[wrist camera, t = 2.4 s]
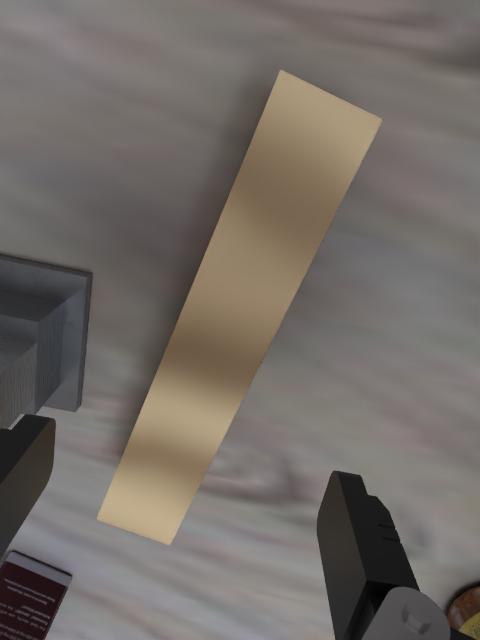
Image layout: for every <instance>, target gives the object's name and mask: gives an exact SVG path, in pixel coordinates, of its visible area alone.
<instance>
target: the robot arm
mask: <svg viewBox="0 0 480 640" xmlns="http://www.w3.org/2000/svg"><path fill="white" fill-rule="evenodd" d="M55 429H56V422H55V419H54V418H48V417H43V416H37V415H32V414H26V415H24V416H23V417H22V419H21V420H20V421H19V422H18V423H17V424H16V425H15V426H14V428H13V429H12V430H9V429H3V428H1V429H0V559H1V557H2V555H3V554H4V552H5V551H6V549H7V547H8V546H9V544H10V543H11V541H12V539H13V538H14V536H15V535H16V533H17V532H18V530H19V528H20V527H21V525H22V524H23V522H24V520H25V519H26V517H27V516H28V514H29V512H30V511H31V509H32V508H33V506H34V504H35V503H36V501H37V500H38V498H39V496H40V495H41V493H42V492H43V490H44V488H45V487H46V485H47V483H48V481H49V478H50V475H51V472H52V468H53V460H54V445H55ZM317 537H318V542H319V548H320V554H321V560H322V565H323V571H324V577H325V583H326V588H327V594H328V600H329V606H330V611H331V617H332V623H333V629H334V634H335V640H477V639H475V638H473V637H471V636H468V635H466V634H464V633H462V632H460V631H458V630H456V629H454V628H452V627H451V626H449V623H448V620H447V618H446V616H445V615H444V613H443V612H442V610H441V609H440V608H439V606H438V605H437V604H436V603H435V602H434V601H433V600H432V599H430V598H429V597H428V596H426V595H425V594H423V593H422V592H420V590H419V587H418V584H417V582H416V579H415V577H414V574H413V572H412V569H411V566H410V564H409V561H408V559H407V556H406V554H405V551H404V548H403V546H402V544H401V543H400V538H399V536H398V533H397V530H395V525H394V523H393V520H392V518H391V515H390V512H389V511H388V510H387V508H386V507H385V506H384V505H383V504H382V502H381V501H380V500H379V499H378V498H377V497H376V496H371V495H368V494H367V491H366V488H365V485H364V482H363V480H362V477H361V476H360V475H357V474H352V473H346V472H340V471H333V472H332V474H331V476H330V479H329V482H328V485H327V488H326V491H325V494H324V497H323V500H322V503H321V506H320V509H319V513H318V518H317Z"/></svg>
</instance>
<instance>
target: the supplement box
mask: <svg viewBox="0 0 480 640" xmlns="http://www.w3.org/2000/svg"><path fill="white" fill-rule="evenodd" d="M71 580H72V577H70V576H68V575H66V574H64V573H62V572H60V571H58V570H56V569H53V568H51V567H49V566H47V565H45V564H42V563H40V562H37V561H35V560H32V559H30V558H28V557H25V556H23V555H20V554H18V553H16V552H11V553H10V554H9V555H8V557H7V558H6V560H5V562H4V563H3V565H2V567H1V568H0V640H45V638H46V635H47V633H48V631H49V629H50V627H51V624H52V622H53V620H54V618H55V616H56V613H57V611H58V609H59V607H60V605H61V602H62V600H63V598H64V596H65V594H66V591H67V589H68V587H69V585H70V583H71Z"/></svg>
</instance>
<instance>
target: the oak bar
mask: <svg viewBox="0 0 480 640" xmlns="http://www.w3.org/2000/svg"><path fill="white" fill-rule="evenodd" d="M382 120H383V119H381V118H379V117H377V116H375V115H373V114H371V113H369V112H367V111H364V110H362V109H360V108H358V107H356V106H354V105H352V104H350V103H348V102H346V101H344V100H342V99H340V98H338V97H336V96H334V95H332V94H330V93H328V92H326V91H324V90H322V89H319V88H317V87H315V86H313V85H311V84H309V83H307V82H305V81H303V80H301V79H299V78H297V77H295V76H293V75H291V74H289V73H287V72H285V71H283V70H281V69H280V72H279V74H278V77H277V79H276V82H275V84H274V87H273V89H272V91H271V94H270V96H269V99H268V101H267V104H266V106H265V109H264V111H263V113H262V116H261V118H260V121H259V123H258V126H257V128H256V131H255V133H254V135H253V138H252V140H251V143H250V145H249V148H248V150H247V153H246V155H245V157H244V160H243V162H242V165H241V167H240V170H239V172H238V175H237V177H236V179H235V182H234V184H233V187H232V189H231V192H230V194H229V197H228V199H227V201H226V204H225V206H224V209H223V211H222V214H221V216H220V219H219V221H218V223H217V226H216V228H215V231H214V233H213V236H212V238H211V241H210V243H209V245H208V248H207V250H206V253H205V255H204V258H203V260H202V263H201V265H200V267H199V270H198V272H197V275H196V277H195V280H194V282H193V285H192V287H191V289H190V292H189V294H188V297H187V299H186V302H185V304H184V307H183V309H182V311H181V314H180V316H179V319H178V321H177V324H176V326H175V329H174V331H173V333H172V336H171V338H170V341H169V343H168V346H167V348H166V351H165V353H164V355H163V358H162V360H161V363H160V365H159V368H158V370H157V373H156V375H155V377H154V380H153V382H152V385H151V387H150V390H149V392H148V395H147V397H146V400H145V402H144V404H143V407H142V409H141V412H140V414H139V417H138V419H137V422H136V424H135V426H134V429H133V431H132V434H131V436H130V439H129V441H128V444H127V446H126V448H125V451H124V453H123V456H122V458H121V461H120V463H119V466H118V468H117V470H116V473H115V475H114V478H113V480H112V483H111V485H110V488H109V490H108V492H107V495H106V497H105V500H104V502H103V505H102V507H101V510H100V512H99V514H98V517H97V519H96V520H99V521H102V522H105V523H108V524H111V525H113V526H116V527H119V528H122V529H125V530H128V531H131V532H133V533H136V534H139V535H142V536H145V537H148V538H150V539H153V540H156V541H159V542H162V543H165V544H168V545H170V544H171V542H172V540H173V538H174V536H175V534H176V532H177V530H178V528H179V526H180V524H181V522H182V520H183V518H184V516H185V514H186V512H187V510H188V508H189V506H190V504H191V502H192V500H193V498H194V496H195V494H196V492H197V490H198V488H199V486H200V484H201V482H202V480H203V478H204V476H205V474H206V472H207V470H208V468H209V466H210V464H211V462H212V460H213V458H214V456H215V454H216V452H217V450H218V448H219V446H220V444H221V442H222V440H223V438H224V436H225V434H226V432H227V430H228V428H229V426H230V424H231V422H232V420H233V418H234V416H235V414H236V412H237V410H238V408H239V406H240V404H241V402H242V400H243V398H244V396H245V394H246V392H247V390H248V388H249V386H250V384H251V382H252V380H253V378H254V376H255V374H256V372H257V370H258V368H259V366H260V364H261V362H262V360H263V358H264V356H265V354H266V352H267V350H268V348H269V346H270V344H271V342H272V340H273V338H274V336H275V334H276V332H277V330H278V328H279V326H280V324H281V322H282V320H283V318H284V316H285V314H286V312H287V310H288V308H289V306H290V304H291V302H292V300H293V298H294V296H295V294H296V292H297V290H298V288H299V286H300V284H301V282H302V280H303V278H304V276H305V274H306V272H307V270H308V268H309V266H310V264H311V262H312V260H313V258H314V256H315V254H316V252H317V250H318V248H319V246H320V244H321V242H322V240H323V238H324V236H325V234H326V232H327V230H328V228H329V226H330V224H331V222H332V220H333V218H334V216H335V214H336V212H337V210H338V208H339V206H340V204H341V202H342V200H343V198H344V196H345V194H346V192H347V190H348V188H349V186H350V184H351V182H352V180H353V178H354V176H355V174H356V172H357V170H358V168H359V166H360V164H361V162H362V160H363V158H364V156H365V154H366V152H367V150H368V148H369V146H370V144H371V142H372V140H373V138H374V136H375V134H376V132H377V130H378V128H379V126H380V124H381V122H382Z"/></svg>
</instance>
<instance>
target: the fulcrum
mask: <svg viewBox="0 0 480 640" xmlns="http://www.w3.org/2000/svg"><path fill="white" fill-rule="evenodd" d="M91 284H92V273H88V272H84V271H79V270H74V269H69V268H64V267H59V266H54V265H49V264H44V263H39V262H35V261H30V260H25V259H20V258H15V257H10V256H5V255H0V429H1V428H3V429H8V428H9V427H10V426H11V424H12V423H13V422H14V421H15V420H16V419H17V418H18V417H19V416H20V414H32V415H35V414H36V413H37V412H38V411H39V410H40V408H41V407H42V406H45V407H51V408H56V409H61V410H66V411H71V412H76V411H77V410H78V408H79V407H80V405H81V398H82V386H83V375H84V364H85V352H86V341H87V329H88V318H89V307H90V295H91Z"/></svg>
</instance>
